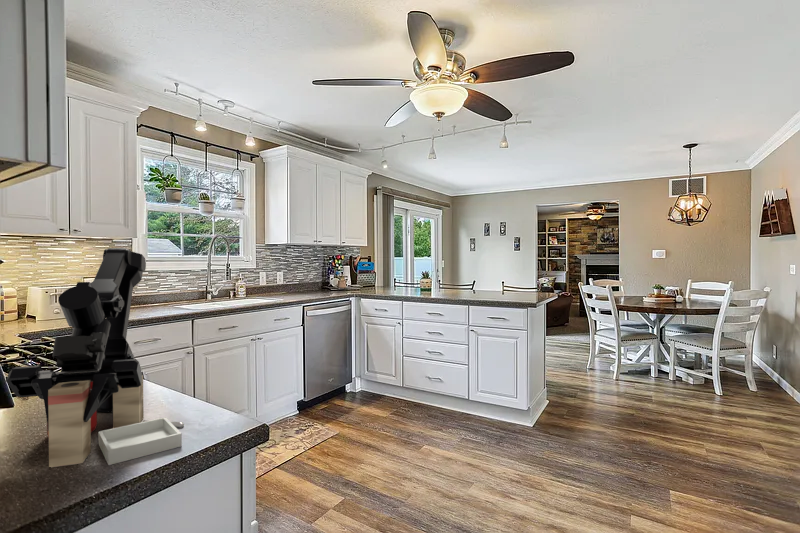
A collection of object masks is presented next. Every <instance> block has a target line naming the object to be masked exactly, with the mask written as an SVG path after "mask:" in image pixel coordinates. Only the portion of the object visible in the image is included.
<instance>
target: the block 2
mask: <svg viewBox="0 0 800 533" xmlns="http://www.w3.org/2000/svg"><path fill="white" fill-rule="evenodd" d="M118 388H119V391H118V392H117V393H113V412H112V425H113V426H112V429H113V428H117V427H122V426H127V425H131V424H136V423H141V422H143V421H144V420H143V419H144V418H145V417H144V415H145V414H144V375H142V382H141V386H139V387H133V388H121V387H120V386H118Z"/></svg>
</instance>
